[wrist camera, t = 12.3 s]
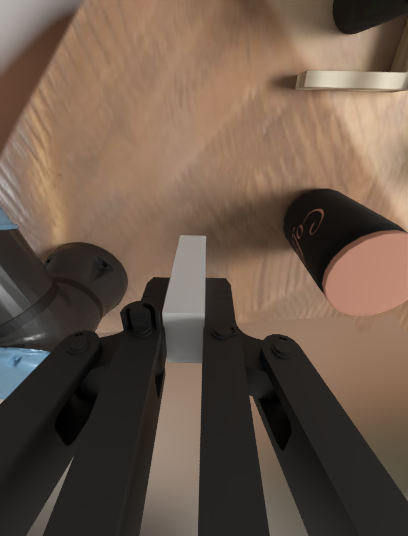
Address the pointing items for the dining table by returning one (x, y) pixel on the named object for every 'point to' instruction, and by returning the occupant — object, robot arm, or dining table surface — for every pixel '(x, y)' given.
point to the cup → (366, 13)
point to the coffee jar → (349, 252)
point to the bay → (362, 76)
